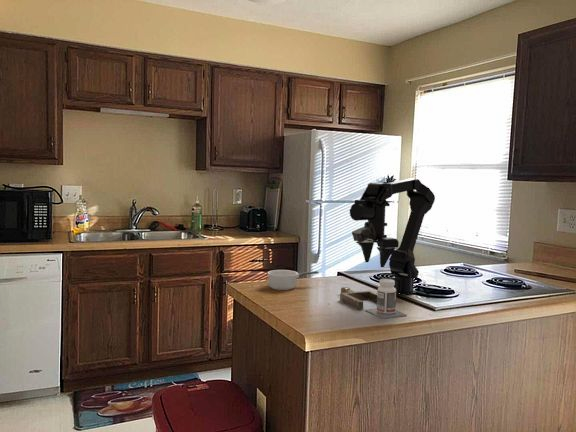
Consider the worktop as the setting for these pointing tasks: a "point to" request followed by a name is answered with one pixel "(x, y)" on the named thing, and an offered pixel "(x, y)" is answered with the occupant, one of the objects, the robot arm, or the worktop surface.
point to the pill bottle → (386, 296)
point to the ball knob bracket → (356, 297)
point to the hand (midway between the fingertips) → (374, 264)
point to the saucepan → (284, 279)
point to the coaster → (383, 316)
